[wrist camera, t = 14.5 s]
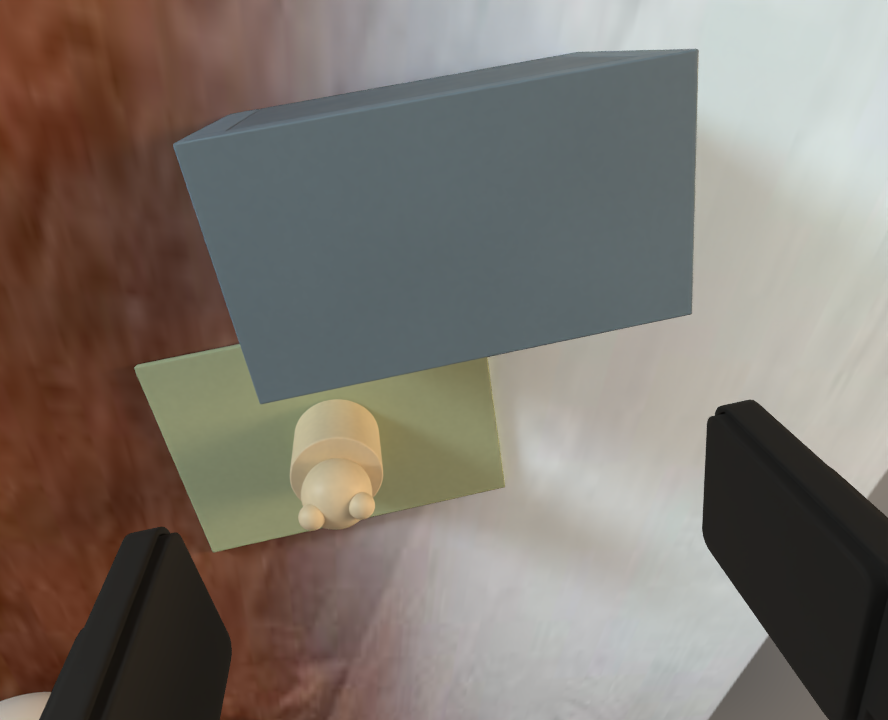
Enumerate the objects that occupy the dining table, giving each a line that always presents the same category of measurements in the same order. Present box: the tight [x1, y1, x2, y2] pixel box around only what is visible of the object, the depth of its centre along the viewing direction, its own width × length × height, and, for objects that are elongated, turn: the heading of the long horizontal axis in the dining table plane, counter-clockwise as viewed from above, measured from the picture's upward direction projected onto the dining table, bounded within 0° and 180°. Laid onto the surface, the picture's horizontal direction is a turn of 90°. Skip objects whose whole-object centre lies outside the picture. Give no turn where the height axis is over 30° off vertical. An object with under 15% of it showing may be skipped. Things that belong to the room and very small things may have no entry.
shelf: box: [173, 49, 699, 404], centre depth 29 cm, size 18×10×12 cm, turn 99°
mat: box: [134, 344, 505, 552], centre depth 39 cm, size 20×14×1 cm
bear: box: [290, 399, 383, 531], centre depth 36 cm, size 5×6×8 cm
